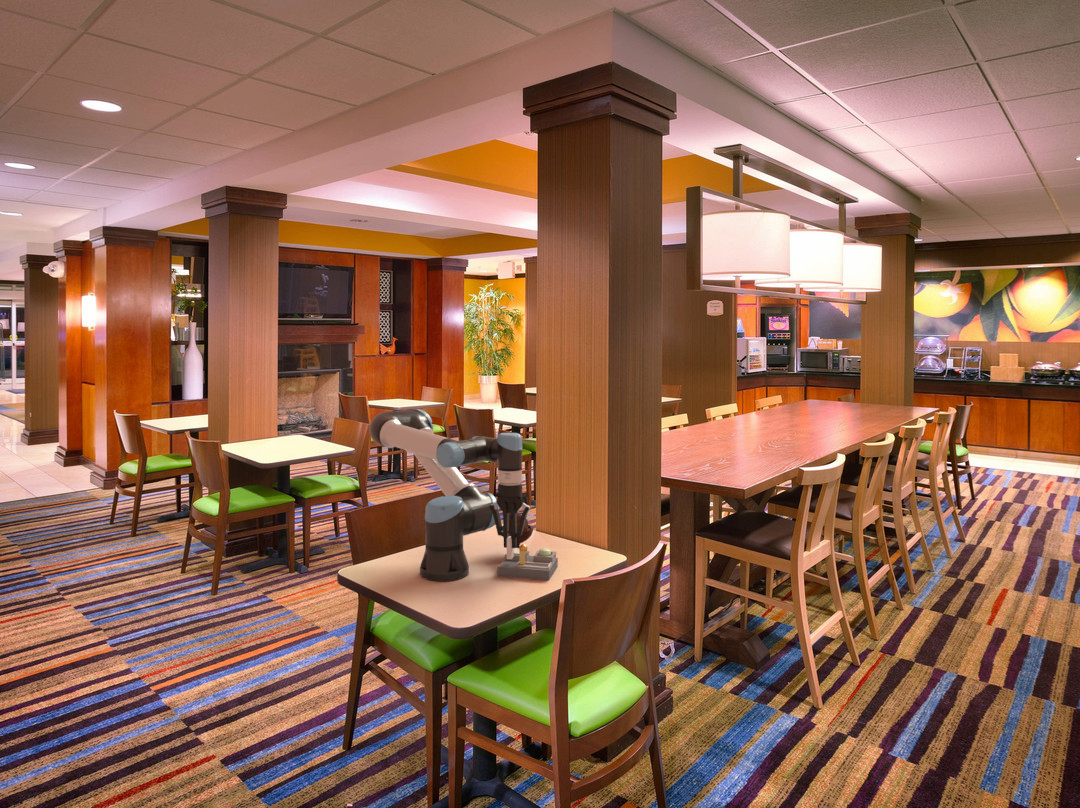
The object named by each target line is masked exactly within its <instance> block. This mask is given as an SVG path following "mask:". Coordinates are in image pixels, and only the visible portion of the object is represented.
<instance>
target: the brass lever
mask: <svg viewBox="0 0 1080 808" xmlns="http://www.w3.org/2000/svg"><path fill="white" fill-rule="evenodd" d="M519 550H520V551H519V565H526V564H527V551H528V546H527V545H526V544H523V543H521V544H520V547H519Z"/></svg>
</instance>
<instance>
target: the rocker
mask: <svg viewBox="0 0 1080 808" xmlns="http://www.w3.org/2000/svg"><path fill="white" fill-rule="evenodd" d="M519 551H520V550H519V548H514V555H519Z"/></svg>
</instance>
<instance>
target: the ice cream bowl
mask: <svg viewBox="0 0 1080 808" xmlns="http://www.w3.org/2000/svg"><path fill="white" fill-rule="evenodd" d="M521 515H522V513H519V511H517V532H518V528H519V524H520V520H521ZM502 527H503V525H502ZM533 532H534V528H533V525H531V524H529V522H528V518H526V521H525V525H524V530H523V534H522V535H521V536H520V537H517V546H516V548H519V547H520V545H521V544H523V543H524V542H526V541H527V540H528V539H530V538H531V536H532V534H533ZM509 536H511V513H509Z"/></svg>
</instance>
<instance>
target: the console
mask: <svg viewBox="0 0 1080 808" xmlns="http://www.w3.org/2000/svg"><path fill="white" fill-rule="evenodd" d="M558 559H559V558H558V557H557V551H551V556H539V550H537V551H536V552H535V553H534V555H530V551H528V550H527V564H526V565H519V555H514V557H513V558H512V559H507V553H506V554H505V555H504V560H503V561H502V562H501V563H500V565H498V571H497V575H498V576H497V577H503V578H514V579H515V578H517V579H529V580H537V581H538V580H539V581H540V580H542V581H550V580H551V578H552V576H553V575H554V573H555V572H556V570H557V568H558V565H559V564H558V562H559V561H558Z"/></svg>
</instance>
